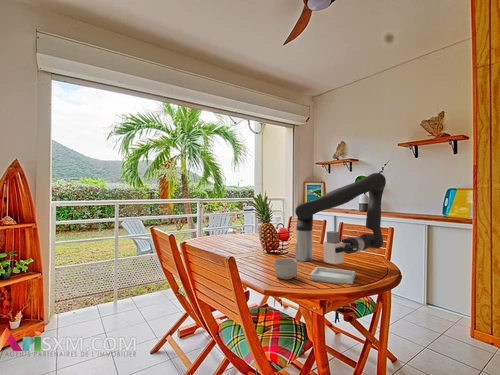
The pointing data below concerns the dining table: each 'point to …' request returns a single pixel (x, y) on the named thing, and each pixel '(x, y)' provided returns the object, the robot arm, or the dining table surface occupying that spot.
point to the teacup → (285, 268)
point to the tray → (332, 275)
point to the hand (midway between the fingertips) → (329, 249)
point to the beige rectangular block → (332, 253)
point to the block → (333, 237)
